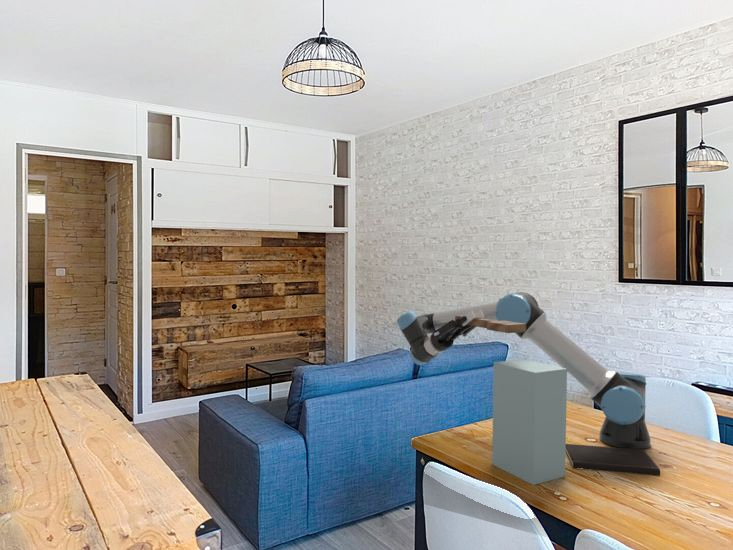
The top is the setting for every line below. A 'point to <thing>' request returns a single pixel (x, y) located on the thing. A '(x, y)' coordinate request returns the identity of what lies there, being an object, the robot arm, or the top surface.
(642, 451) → the hardcover book
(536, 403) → the stand
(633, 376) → the robot arm
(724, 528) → the top surface
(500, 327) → the brown tapered block
